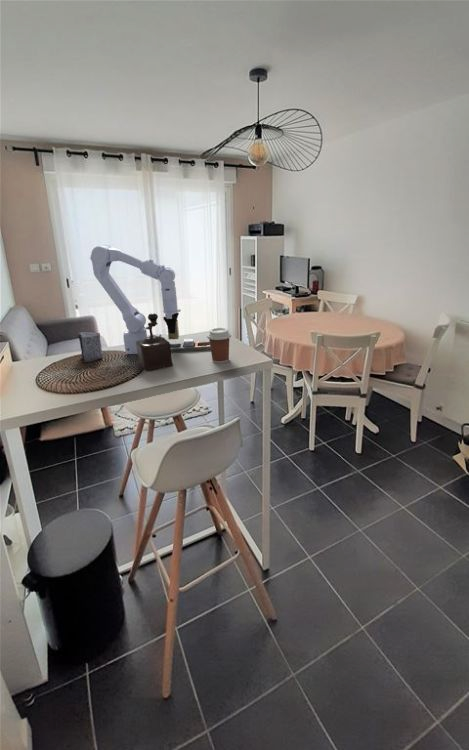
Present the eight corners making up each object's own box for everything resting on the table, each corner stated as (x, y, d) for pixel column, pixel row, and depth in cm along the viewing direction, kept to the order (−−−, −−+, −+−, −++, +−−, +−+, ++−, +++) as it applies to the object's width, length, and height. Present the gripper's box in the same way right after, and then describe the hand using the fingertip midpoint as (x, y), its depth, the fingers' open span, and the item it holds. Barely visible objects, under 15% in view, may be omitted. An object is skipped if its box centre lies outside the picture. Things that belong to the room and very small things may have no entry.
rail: (165, 352, 150) (164, 348, 149) (167, 347, 156) (166, 343, 156) (212, 350, 151) (212, 346, 150) (212, 344, 157) (212, 341, 157)
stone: (78, 367, 142) (77, 353, 149) (104, 367, 147) (102, 353, 154) (78, 342, 136) (77, 328, 143) (106, 342, 140) (103, 329, 147)
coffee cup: (224, 354, 145) (223, 325, 140) (236, 360, 137) (235, 330, 133) (204, 359, 140) (202, 329, 135) (216, 366, 133) (214, 335, 128)
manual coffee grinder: (175, 365, 135) (169, 318, 128) (146, 372, 130) (139, 323, 123) (161, 354, 148) (155, 311, 141) (134, 360, 143) (127, 315, 136)
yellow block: (168, 339, 149) (167, 323, 147) (169, 336, 153) (168, 320, 150) (178, 339, 150) (176, 322, 147) (179, 336, 153) (177, 320, 151)
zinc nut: (184, 350, 152) (183, 341, 150) (185, 347, 155) (184, 338, 154) (194, 350, 152) (193, 341, 150) (194, 347, 155) (193, 338, 154)
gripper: (177, 302, 138) (181, 336, 144) (180, 295, 152) (183, 326, 157) (159, 303, 138) (163, 337, 143) (164, 296, 152) (167, 327, 157)
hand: (172, 331), depth 150 cm, fingers closed on yellow block, 4 cm apart
